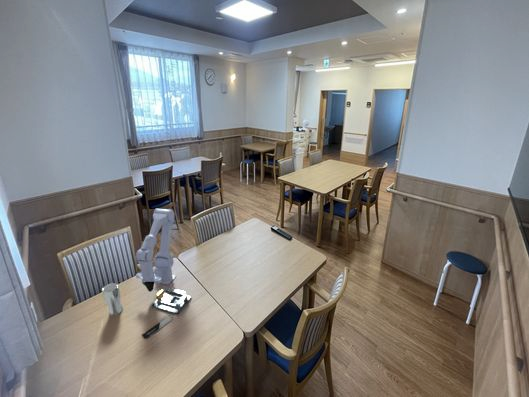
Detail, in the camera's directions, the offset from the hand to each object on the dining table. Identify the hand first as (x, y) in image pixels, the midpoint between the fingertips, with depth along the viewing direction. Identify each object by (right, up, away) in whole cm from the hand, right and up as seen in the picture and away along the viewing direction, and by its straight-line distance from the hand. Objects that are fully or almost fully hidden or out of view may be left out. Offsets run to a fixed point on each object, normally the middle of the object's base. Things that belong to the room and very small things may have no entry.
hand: (151, 290), depth 135 cm
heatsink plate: (+12, -6, -1) cm, 13 cm away
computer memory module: (+11, -12, -15) cm, 22 cm away
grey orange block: (+9, -4, -1) cm, 10 cm away
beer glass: (-15, -8, -7) cm, 18 cm away
